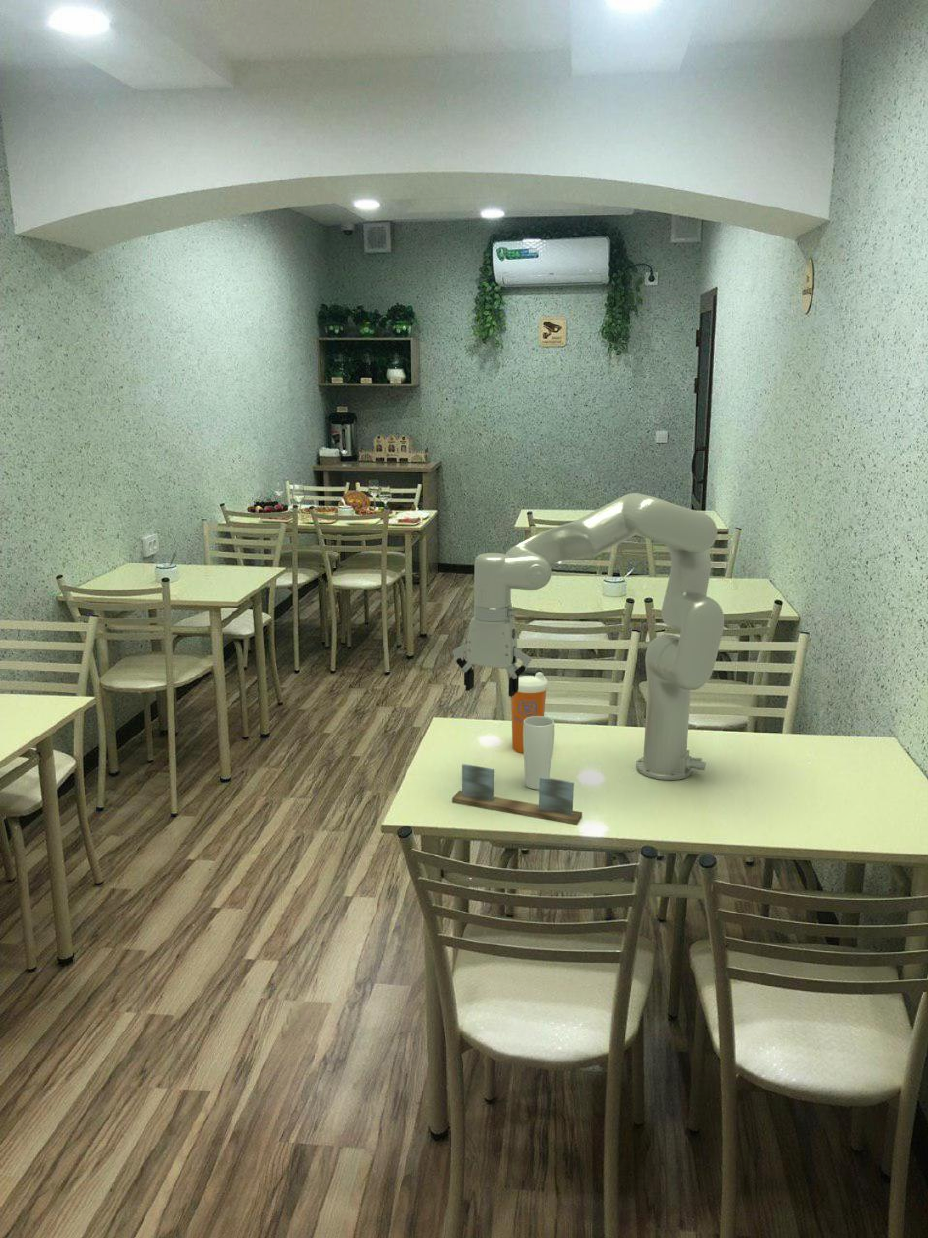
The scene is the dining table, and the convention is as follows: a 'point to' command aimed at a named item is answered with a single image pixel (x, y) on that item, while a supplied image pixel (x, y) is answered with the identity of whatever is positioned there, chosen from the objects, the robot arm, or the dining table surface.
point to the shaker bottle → (527, 703)
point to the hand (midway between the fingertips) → (490, 692)
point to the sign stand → (551, 801)
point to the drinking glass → (537, 749)
